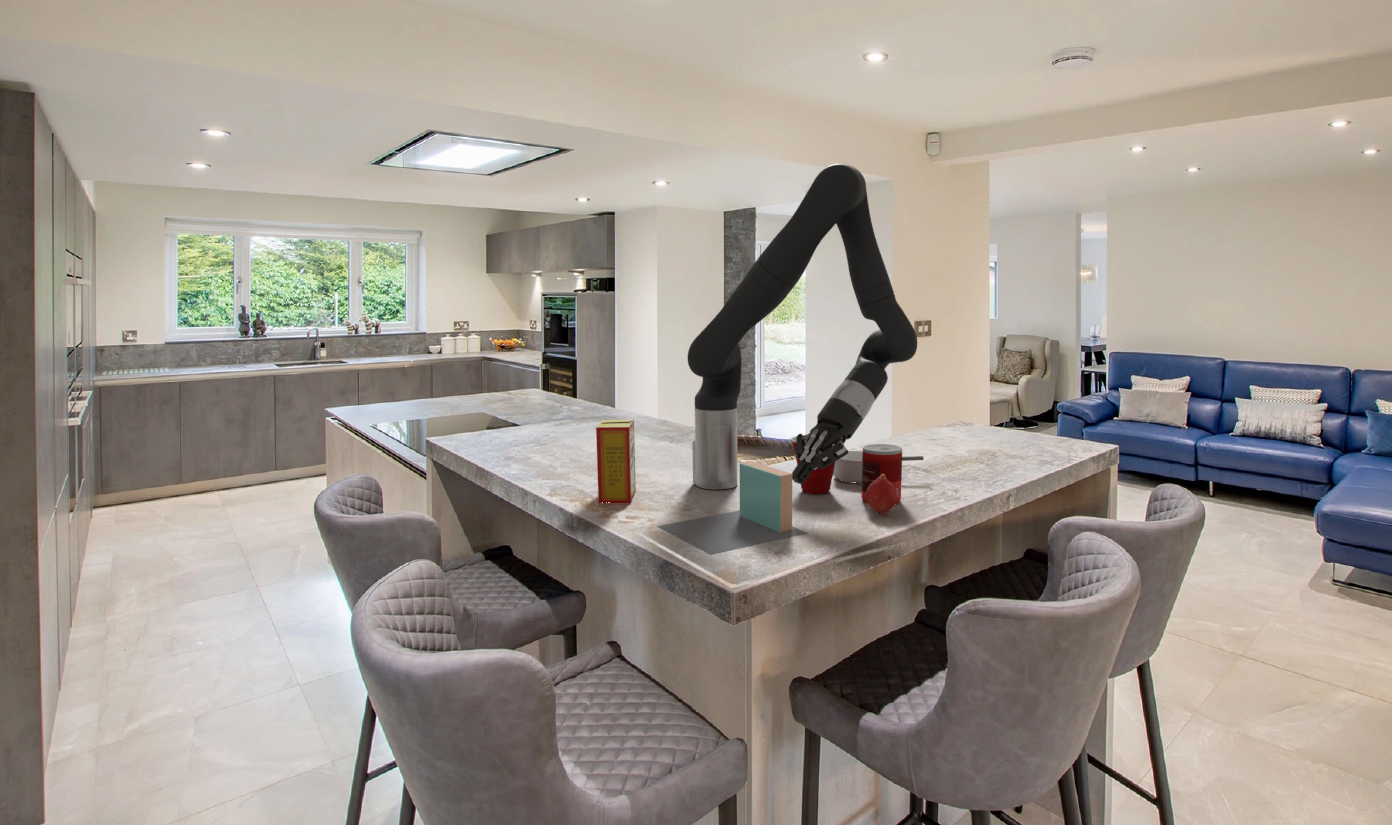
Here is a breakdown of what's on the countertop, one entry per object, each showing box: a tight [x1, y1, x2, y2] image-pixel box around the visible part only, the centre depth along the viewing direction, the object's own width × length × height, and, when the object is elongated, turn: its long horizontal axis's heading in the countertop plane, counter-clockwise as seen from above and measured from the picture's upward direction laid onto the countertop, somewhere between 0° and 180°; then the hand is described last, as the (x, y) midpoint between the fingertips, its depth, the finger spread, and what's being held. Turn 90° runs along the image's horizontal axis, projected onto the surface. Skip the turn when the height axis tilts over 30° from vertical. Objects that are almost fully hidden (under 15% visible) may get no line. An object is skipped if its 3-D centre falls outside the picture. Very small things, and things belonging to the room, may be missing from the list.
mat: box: [656, 509, 809, 556], centre depth 132 cm, size 18×20×1 cm
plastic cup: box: [789, 434, 835, 496], centre depth 158 cm, size 11×11×12 cm
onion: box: [865, 474, 898, 516], centre depth 140 cm, size 6×6×8 cm
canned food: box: [861, 443, 903, 505], centre depth 150 cm, size 8×8×11 cm
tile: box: [739, 461, 793, 532], centre depth 135 cm, size 12×3×10 cm, turn 32°
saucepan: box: [833, 449, 924, 484], centre depth 168 cm, size 12×20×6 cm, turn 81°
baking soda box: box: [595, 419, 637, 504], centre depth 155 cm, size 10×6×16 cm
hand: (795, 480), depth 138 cm, fingers closed
